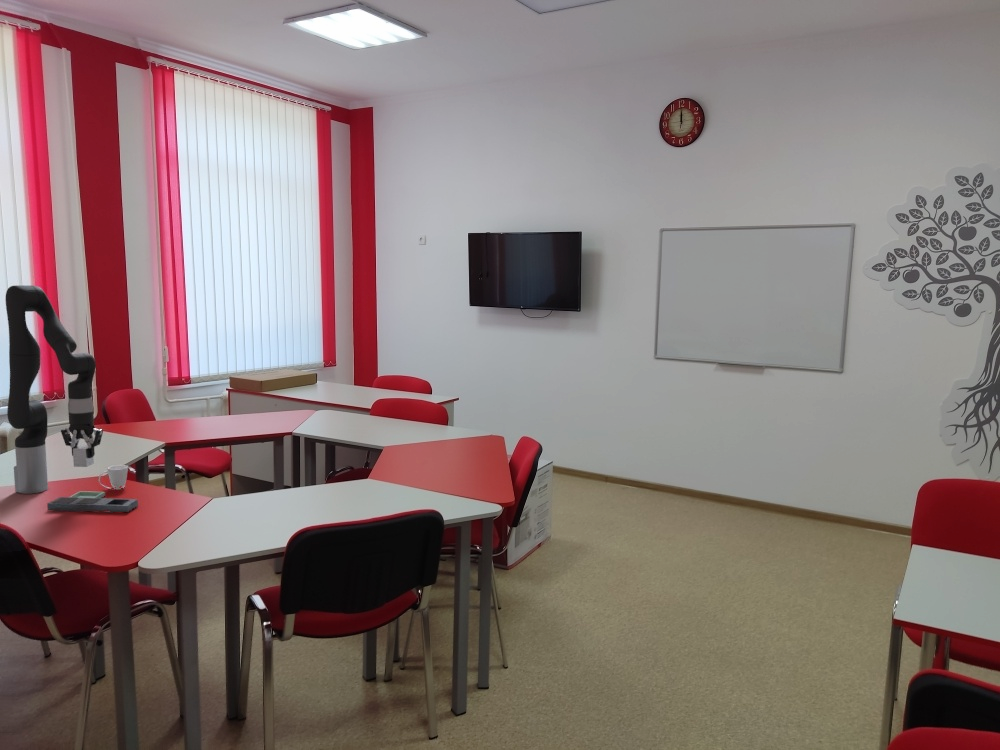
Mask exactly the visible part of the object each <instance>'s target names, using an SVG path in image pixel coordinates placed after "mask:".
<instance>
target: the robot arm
mask: <svg viewBox="0 0 1000 750" xmlns="http://www.w3.org/2000/svg"><path fill="white" fill-rule="evenodd" d="M5 308H6V316H7V323H8V324H7V325H8V339H9V340H8V342H9V343H8V344H9V347H8V348H9V350H8V351H9V352H8V353H9V357H8V358H9V359H8V360H9V361H8V362H9V392H8V393H9V394H8V400H7V401H8V403H7V412H6V413H7V414H6V415H7V416H6V417H7V421H8V422H9V423H8V424H9V425H10V426H11V427H12V428H14V429H16V430H22V432H20V433H19V435H18V436H16V438H15V439H14V449H15V450H14V451H15V463H16V465H15V466H14V467H13V477H14V478H13V479H14V492H15V493H19V494H22V495H23V494H24V495H28V494H30V495H31V494H38V493H42V492H45V491H47V490H48V489H49V483H48V482H49V481H48V466H47V465H48V464H47V463H48V461H47V449H46V448H47V447H46V438H47V437H48V411H47V408H46V406H45V404H43V403H42V401H39V400H30V393H31V392H30V391H31V388H32V386H33V383H34V381H35V380H36V378H37V376H38V374H39V372H40V369H41V348H40V345H39V343H38V342H37V340H36V338H35V337H34V336H33V334H32V333H31V332H30V330H29V328H28V325H27V320H26V319H27V317H26V312H27V313H28V312H35V313H37V315H39V317H40V318H41V319H42V322H43V327H42V328H43V330H42V331H43V333H42V334H43V336H44V338H45V341H46V342H47V344H48V345H49V346H50V348H51V349H52V350H53V351H54V353H55V356H56V359H57V362H58V363H59V367H60V369H61V371H62V372H64V373H65V374H67V375H70V376H73V375H74V376H75V375H77V377H76V378H75V379H74V380H72V381H69V382H68V385H67V395H68V401H67V402H68V403H67V409H68V423H69V427H66V428H63V429H60V433H61V436H62V438H63V441H64V442H63V443H64V444H65V446H67V447H70V448H71V455H72V457H73V448H76V447H78V446H79V443H80V441H81V439H82V440H84V443H86V446H88V458H92V457H93V456H95V454H96V453H95V447H98V446H100V444H101V441H102V437H103V434H104V430H103V428H101V429H98V428H96V427H95V416H94V402H93V397H92V396H93V395H92V394H93V393H92V384H93V380H94V376H95V373H96V360H95V357H94V356H93V355H92V354H91V353H88V352H82V353H74V352H75V351H76V349H77V348H78V346H77V342H76V341H75V340H74V338H73V337H72V336H71V335H70V333H69V331H67V330H66V328H65V327H64V326H63V324H62V322H61V321H60V318H59V317H58V315H57V312H56V311H55V308H54V307H53V305H52V303H51V301H50V299H49V297H48V295H47V294H46V292H45V291H44V290H43V288H41V287H40V286H37V285H11V286H9V287H8V288H7V289H6V292H5ZM73 353H74V354H73ZM71 434H72V436H71ZM93 435H94V436H93Z"/></svg>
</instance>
